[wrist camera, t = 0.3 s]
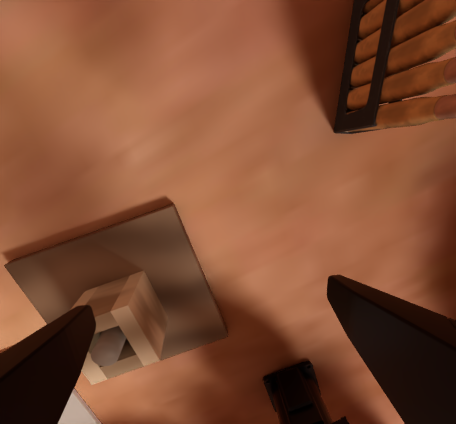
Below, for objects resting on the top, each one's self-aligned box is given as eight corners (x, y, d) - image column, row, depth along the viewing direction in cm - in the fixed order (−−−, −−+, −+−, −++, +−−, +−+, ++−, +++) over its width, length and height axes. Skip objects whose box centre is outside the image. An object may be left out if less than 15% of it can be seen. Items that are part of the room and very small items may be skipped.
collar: (168, 317, 24) (159, 360, 19) (113, 336, 24) (91, 385, 19) (143, 270, 22) (127, 305, 17) (84, 291, 22) (52, 331, 17)
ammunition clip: (355, -8, 18) (610, -262, 7) (376, -6, 18) (658, -247, 7) (333, 133, 21) (485, 120, 10) (351, 133, 22) (521, 122, 10)
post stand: (227, 329, 26) (235, 390, 20) (96, 376, 26) (61, 452, 20) (174, 203, 21) (162, 229, 15) (12, 260, 21) (-70, 310, 15)
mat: (108, 432, 29) (107, 436, 29) (3, 469, 29) (0, 474, 28) (36, 340, 24) (34, 343, 24) (-90, 385, 24) (-95, 389, 24)
